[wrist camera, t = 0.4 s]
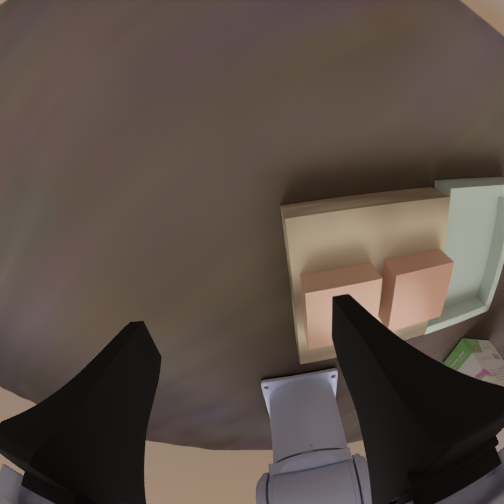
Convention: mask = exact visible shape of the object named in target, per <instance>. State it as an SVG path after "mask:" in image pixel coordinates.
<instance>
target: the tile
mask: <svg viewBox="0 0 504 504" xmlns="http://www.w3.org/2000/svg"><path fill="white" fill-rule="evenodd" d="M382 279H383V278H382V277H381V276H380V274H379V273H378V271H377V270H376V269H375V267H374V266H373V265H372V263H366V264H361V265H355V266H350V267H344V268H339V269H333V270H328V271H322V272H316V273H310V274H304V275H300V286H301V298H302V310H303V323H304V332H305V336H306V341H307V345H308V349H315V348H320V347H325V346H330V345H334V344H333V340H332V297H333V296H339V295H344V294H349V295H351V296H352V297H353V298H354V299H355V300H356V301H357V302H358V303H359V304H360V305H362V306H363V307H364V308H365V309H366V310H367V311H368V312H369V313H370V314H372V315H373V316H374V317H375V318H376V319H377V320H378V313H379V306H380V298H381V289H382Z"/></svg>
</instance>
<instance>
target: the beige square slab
mask: <svg viewBox="0 0 504 504" xmlns="http://www.w3.org/2000/svg"><path fill="white" fill-rule="evenodd" d="M449 204H450V197H449V196H447V195H446V194H444V193H442V192H440V191H438V190H436V189H434V188H432V187H425V188H414V189H404V190H394V191H385V192H376V193H368V194H360V195H352V196H344V197H336V198H329V199H321V200H314V201H307V202H300V203H293V204H287V205H280V210H281V217H282V224H283V232H284V239H285V247H286V255H287V263H288V271H289V280H290V288H291V297H292V306H293V316H294V325H295V335H296V345H297V350H298V355H299V360H300V364H305V363H311V362H316V361H321V360H326V359H331V358H336V357H337V356H336V352H335V348H334V345H330V346H325V347H320V348H315V349H308V345H307V341H306V336H305V332H304V323H303V310H302V298H301V286H300V275H304V274H310V273H316V272H322V271H328V270H333V269H339V268H344V267H350V266H355V265H361V264H366V263H372V265H373V266H374V267H375V269H376V270H377V271H378V273H379V274H380V276H381V277H383V265H384V260H387V259H392V258H397V257H402V256H407V255H412V254H417V253H422V252H427V251H431V250H436V249H440V250H442V251H443V252H444V247H445V240H446V232H447V224H448V215H449ZM378 320H379V321H380V322H381V320H380V318H379V316H378ZM381 323H382V322H381ZM382 324H383V323H382ZM427 324H428V321H424V322H421V323H418V324H415V325H411V326H408V327H404V328H401V329H397V330H394V331H392V332H393V333H394V334H396V335H397V336H398V337H400V338H401V339H402V340H407V339H410V338H413V337H416V336H419V335H423V334H425V330H426V327H427Z"/></svg>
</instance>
